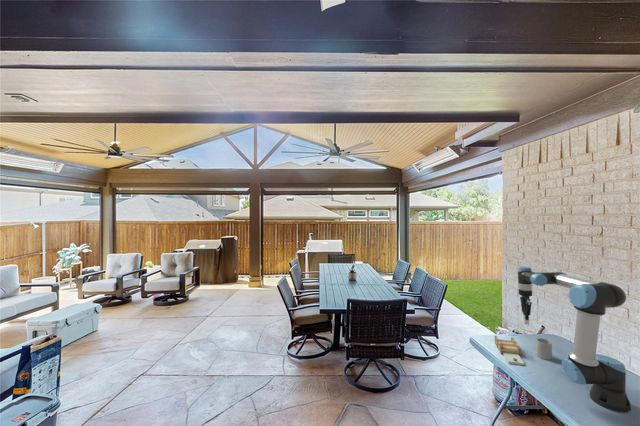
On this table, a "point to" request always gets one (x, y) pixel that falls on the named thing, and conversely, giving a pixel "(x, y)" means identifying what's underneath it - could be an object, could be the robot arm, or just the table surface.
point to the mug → (544, 348)
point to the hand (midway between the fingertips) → (526, 324)
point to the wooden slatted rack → (508, 346)
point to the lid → (513, 359)
